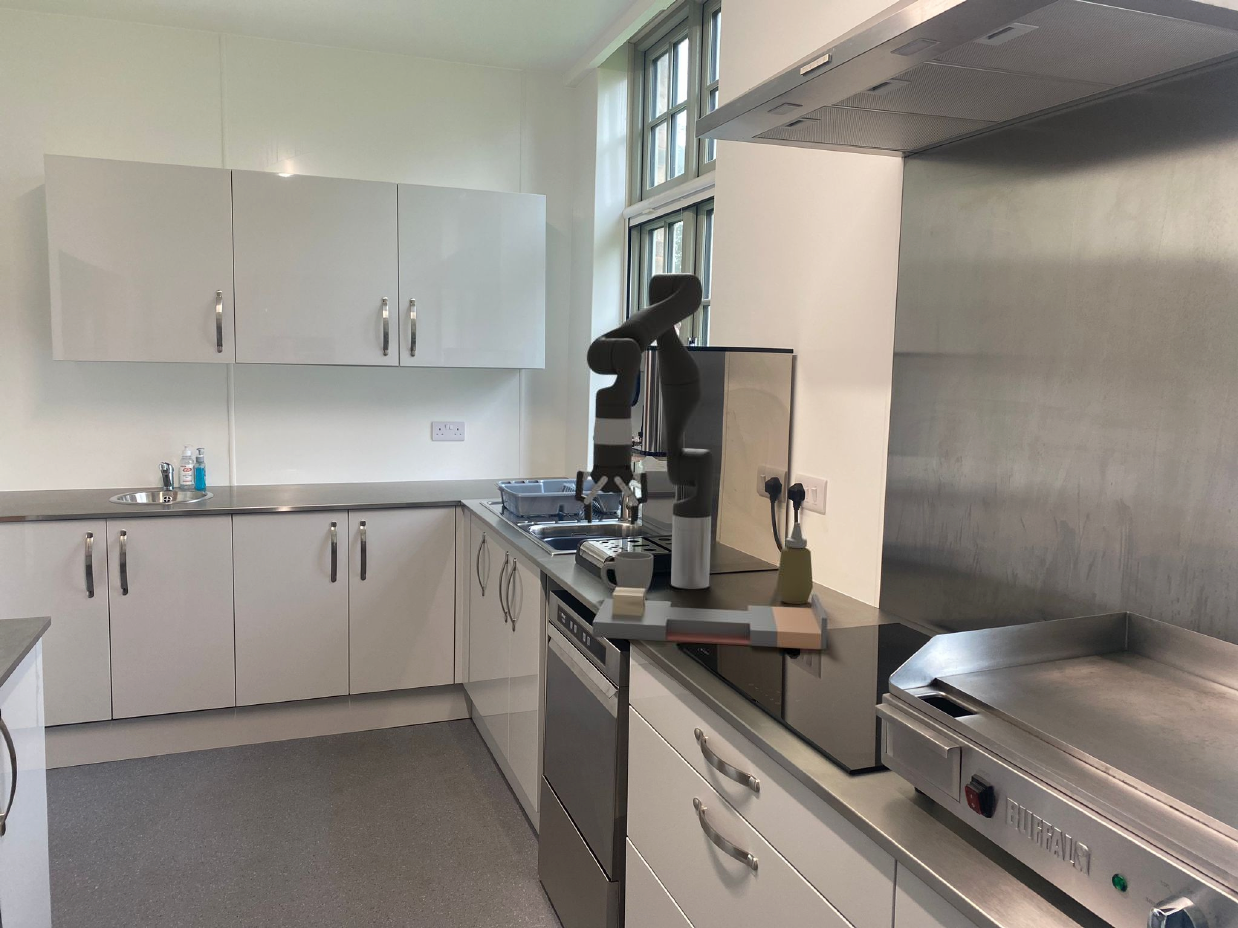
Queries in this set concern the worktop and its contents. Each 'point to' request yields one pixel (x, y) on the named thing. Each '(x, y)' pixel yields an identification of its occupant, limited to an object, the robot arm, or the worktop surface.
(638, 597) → the maple block
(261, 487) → the worktop surface
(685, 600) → the worktop surface
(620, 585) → the mug
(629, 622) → the trap deck
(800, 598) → the squeeze bottle
